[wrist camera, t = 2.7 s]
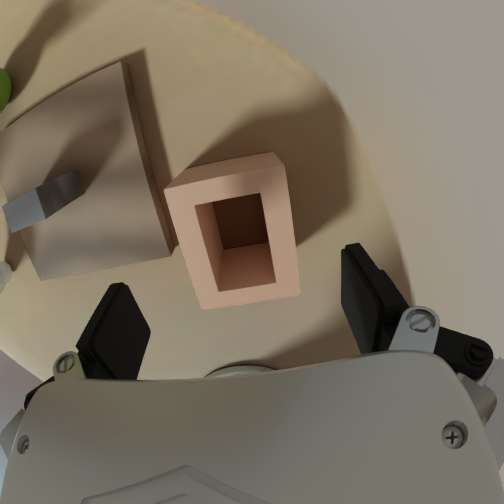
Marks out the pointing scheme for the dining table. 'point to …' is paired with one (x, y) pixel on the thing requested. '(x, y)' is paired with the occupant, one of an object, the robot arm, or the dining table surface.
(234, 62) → the dining table surface
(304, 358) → the dining table surface
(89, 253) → the hub plate
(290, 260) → the tan rectangular frame
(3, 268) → the lightbulb
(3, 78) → the snail figurine
